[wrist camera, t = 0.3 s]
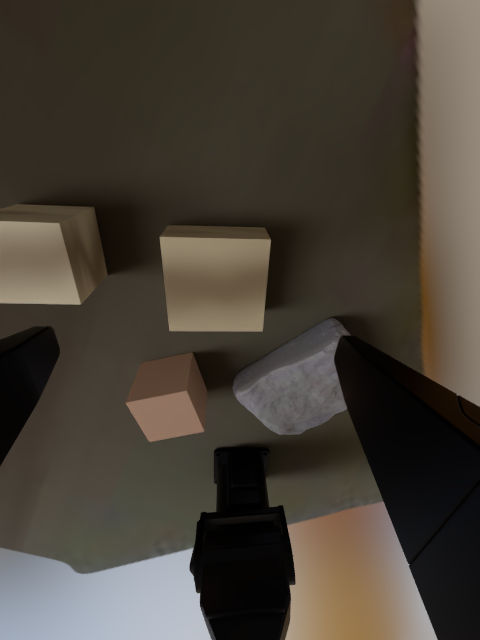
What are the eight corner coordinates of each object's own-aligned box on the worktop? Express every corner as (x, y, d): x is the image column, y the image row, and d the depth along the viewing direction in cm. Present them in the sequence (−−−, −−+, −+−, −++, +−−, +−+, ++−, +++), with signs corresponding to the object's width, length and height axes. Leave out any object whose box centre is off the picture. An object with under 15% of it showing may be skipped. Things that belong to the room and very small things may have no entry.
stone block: (369, 359, 31) (332, 304, 25) (393, 398, 27) (357, 345, 21) (275, 406, 34) (223, 368, 28) (286, 446, 31) (229, 412, 25)
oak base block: (258, 309, 25) (262, 331, 22) (176, 308, 25) (169, 331, 22) (264, 226, 21) (271, 239, 18) (168, 224, 21) (159, 236, 18)
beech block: (108, 274, 23) (80, 304, 18) (41, 273, 22) (-3, 302, 18) (94, 206, 20) (59, 223, 16) (19, 204, 20) (-39, 219, 15)
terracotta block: (207, 390, 29) (204, 431, 25) (160, 399, 30) (149, 442, 25) (192, 351, 27) (186, 390, 22) (141, 362, 27) (125, 402, 23)
